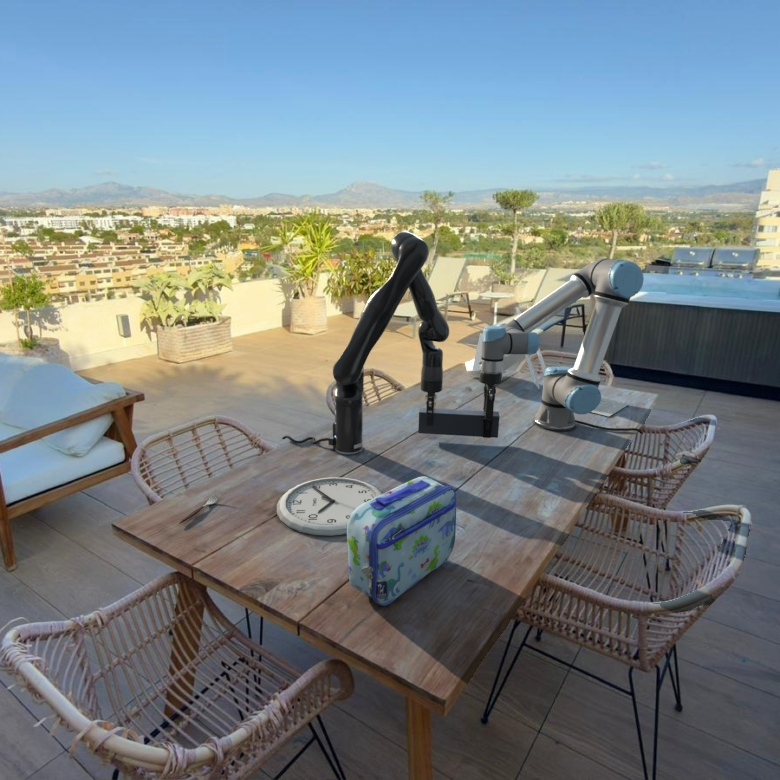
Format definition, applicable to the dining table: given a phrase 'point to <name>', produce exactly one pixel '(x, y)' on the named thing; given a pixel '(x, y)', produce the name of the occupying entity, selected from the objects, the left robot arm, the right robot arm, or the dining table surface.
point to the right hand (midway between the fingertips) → (486, 434)
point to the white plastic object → (504, 360)
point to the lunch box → (400, 538)
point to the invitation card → (608, 407)
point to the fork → (209, 502)
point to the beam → (457, 422)
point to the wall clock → (324, 504)
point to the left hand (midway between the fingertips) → (430, 422)
